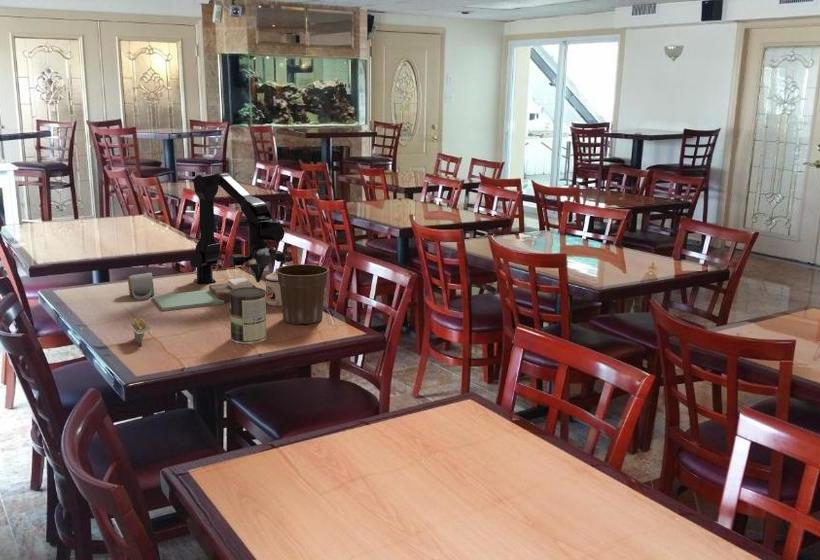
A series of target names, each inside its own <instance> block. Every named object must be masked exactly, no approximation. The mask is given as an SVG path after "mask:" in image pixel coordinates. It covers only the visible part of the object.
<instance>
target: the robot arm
mask: <svg viewBox="0 0 820 560" xmlns="http://www.w3.org/2000/svg"><path fill="white" fill-rule="evenodd" d="M219 186H220V188H221V189H223V191H225V192H226V193H227V194H228V195H229V196H230V197H231V198H232V199H233V200H234V201H235V202H236V203H237V204H238V205H239V207H240V210H241V211H240V212H241V213H242V214H243V215H244V217H246V219H245V220H244V222H243V225H245V226H246V225H247V234H248V235H247V236H248V237H247V238H248V239H247V244H248V251H247V255H246V256H245V255H242V254H240V253H239V254H230V255H229V257H228V263H229V264H230V265H232V266H234V267H238V266H244V264H245V265H246V266H248V267H249V269H250V270H251V272H252V274H253V277H254V279H255V281H256V283H261V279H262V277H263V273H264V271H265V269H266V267H267V266H270V264H271V260H274V261H276V262H278V263H279V262H286V259H287V257H286V253H284V252H282V251H281V250H277V249H276V248H275V247H269V248H268V244H267V241H269V242H276V243H280V242H282V241H283V240H284V236H285V230H284V227H283V226H282V225H281V222H280V221H275V219H274V217H273V215H272V213H271V212H270V210H269V208H268V206H267V204H266V203H265V201H264V200H262V199H260V198H258V197H256V196H252V195H251V194H250V193H249V192H248V191H247V190H245V189H244V188H243V187H242V186H241V185H240V184H239V183H238V182H237V181H236V180H235V179H234V178H232V176H231V174H230V173H228V172H225V171H224V172H217V173H205V174H203V173H202V174H197V175H196V176H195V177H194V178H193V189H194V193H195V194H196V196H197V198H198V202H199V240H198V241H197V244H196V246H195V253H194V255H193V256H192V257H191V259H190V260H189V263H190V266H191V267H192V268H193V267H194V268H196V269H195V270H196V278H194V279H193V281H194V282H195V283H196V284H198V285H202V284H211V283H216V280H215V279H214V275H213V274H214V273H213V265H217V264H218V263H219V262H218V261H219V259H220V256H221V254H222V253H221V243H220V242H217V240H216V239H215V214H214V213H215V211H214V209H215V208H214V207H215V205H214V204H215V202H214V200H215V198H216V195H217V193H218V192H219Z"/></svg>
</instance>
